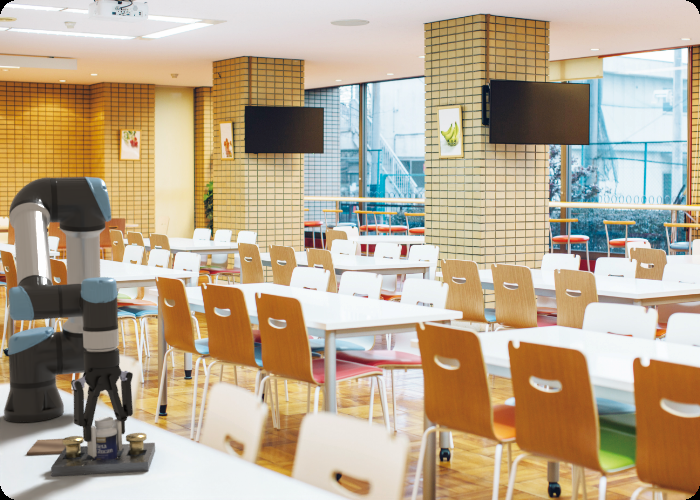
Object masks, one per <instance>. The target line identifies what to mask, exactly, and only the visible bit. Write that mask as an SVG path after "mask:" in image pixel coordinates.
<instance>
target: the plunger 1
mask: <svg viewBox="0 0 700 500" xmlns="http://www.w3.org/2000/svg"><path fill="white" fill-rule="evenodd" d="M62 439H63V440H62V444H63V445H66V457H67V458H76V457H79V456H81V449H80V446H81V444H83V443H84V442H85V441H84V439H83V436H81V435H71V436H67V437H63V438H62Z"/></svg>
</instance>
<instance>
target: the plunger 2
mask: <svg viewBox="0 0 700 500" xmlns="http://www.w3.org/2000/svg"><path fill="white" fill-rule="evenodd" d="M146 440H147V433H145V432H134V433H133V432H132V433H129V434H127V435H126V436H125V441H126V442H128V444H130V454H132V455H137V454H142V453H143V452H144V444H143V443H144V441H146Z"/></svg>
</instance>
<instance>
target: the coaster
mask: <svg viewBox="0 0 700 500" xmlns="http://www.w3.org/2000/svg"><path fill="white" fill-rule="evenodd" d="M63 439H64V438H51V439H50V438H49V439H37V440H36V441H35V442H34V443H33V444H32V446H31V447H30V448H29V449H28V451H27V452H26V456H38V455H40V456H41V455H42V456H43V455H54V454H55V455H60V454H61V453H62V451H63V450H64V448H65V447H66V445H63V444H62V440H63Z"/></svg>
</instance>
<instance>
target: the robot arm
mask: <svg viewBox="0 0 700 500" xmlns="http://www.w3.org/2000/svg"><path fill="white" fill-rule="evenodd" d="M107 188H108V187H107V184H106V182H105V180H103V178H100V177H91V176H90V177H89V176H74V177H73V176H72V177H70V176H68V177H41V178H37V179H35V180H32V181H30V182H29V183H26V185H24V186H23V187H22V188H21V189H19V191H18V192H17V193H16V195H15V196H14V198H13V199H12V202H11V203H10V206H9V211H8V214H9V215H8V218H9V223H10V226H11V227H12V228H13V230H14V232H13V233H14V247H15V268H16V283H17V286H13V287H10V288H9V289H8V305H9V317H10V319H12V321H37V320H38V321H40V320H46V319H47V320H48V319H61V318H63V319H64V318H65V319H67V320H66V321H65V322H63V324H62V331H55V329H54V327H52V326H41V327H34V328H30V329H25V330H21V331H19V332H16V333H14V334H12V335H11V336H10V337H9V338H8V344H7V345H8V346H7V347H8V348H7V350H8V351H7V355H8V369H9V371H8V373H9V392H8V395H7V398H6V402H5V405H4V406H5V407H4V410H3V415H4V416H3V417H4V420H6V421H7V422H11V423H33V422H34V423H35V422H42V421H47V420H51V419H55V418H58V417H60V416H62V415H63V414H65V407H64V402H63V399H62V396H61V394H60V392H59V389H58V387H57V379H56V377H57V376H58V375H59V376H60V375H72V374H81V373H82V374H83V375H82V377H80V378H77V379H72V380H71V381H70V385H71V387H72V390H73V423H74V424H75V425H76V426H78V427H82V435H83V436H82V437H83V441H84V442H86V446H88V455H90V456H92V457H96V456H97V455H96V427H95V425H93V423H94V417H95V413H96V408H97V405H98V399H99V397H100V395H101V393H102V392H104V391H106V392H107V394H108V398H109V400H110V404H111V406H112V409H113V410H112V411H113V413H114V416H115V418H113V420H114V425H113V427H115V428H116V429H117V448H118V451H121V450H122V444H123V435H125V432H126V421H127V420H128V417H132V416H133V413H134V410H133V395H132V380H133V376H134V375H133V372H131V371H128V370H124V371H123V370H122V369H121V367H120V363H121V362H120V349H119V348H118V347H119V346H120V339H119V338H120V335H119V334H120V333H119V332H120V331H119V315H118V308H119V306H118V295H119V292H118V286H117V285H118V284H117V280H116V279H115V278H114V277H108V276H107V277H105V276H101V245H100V244H101V241H100V239H101V238H100V237H101V235H100V234H101V233H102V232H103V231H104V230H106V223H108V222H111V221H112V210H111V202H110V197H109V192H108V189H107ZM50 223H59V230H60V231H61V232H62V233H64V235H65V250H66V251H65V252H66V254H65V255H66V284H53V275H52V266H51V257H50V245H49V236H48V235H49V234H48V226H49V225H50ZM119 379H120V388H121V389H120V390H121V397H120V395H119V389H118V385H117V382H118V381H119ZM85 383H86V384H87V385H88V389H87V397H86V404H85V392H84V391H85V390H84V388H85ZM120 398H121V399H120Z"/></svg>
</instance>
